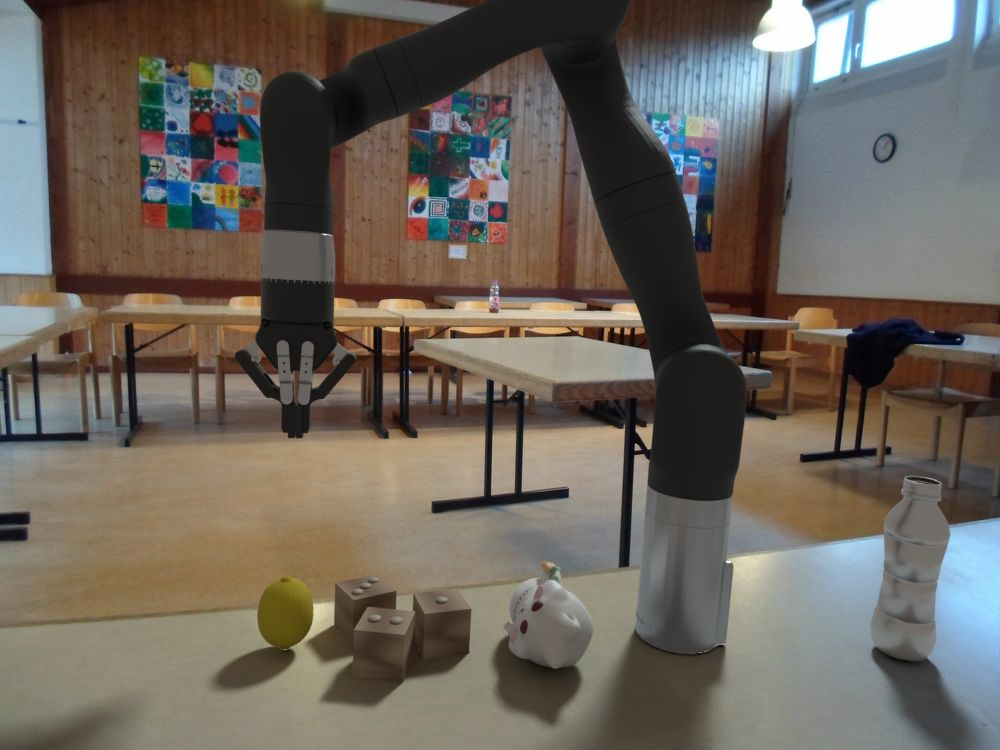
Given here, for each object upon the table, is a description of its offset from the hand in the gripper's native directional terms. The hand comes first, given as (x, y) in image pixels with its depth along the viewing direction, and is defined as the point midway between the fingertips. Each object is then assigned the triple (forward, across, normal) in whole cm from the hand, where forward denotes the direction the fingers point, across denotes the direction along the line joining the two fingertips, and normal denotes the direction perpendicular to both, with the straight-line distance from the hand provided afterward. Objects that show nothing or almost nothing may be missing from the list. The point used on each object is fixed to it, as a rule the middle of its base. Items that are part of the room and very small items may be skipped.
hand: (295, 436), depth 79 cm
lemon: (+21, 0, +7) cm, 22 cm away
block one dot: (+21, -16, +7) cm, 27 cm away
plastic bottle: (+21, -67, +13) cm, 71 cm away
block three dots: (+21, -8, +3) cm, 23 cm away
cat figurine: (+21, -27, +10) cm, 36 cm away
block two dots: (+21, -10, +11) cm, 26 cm away
